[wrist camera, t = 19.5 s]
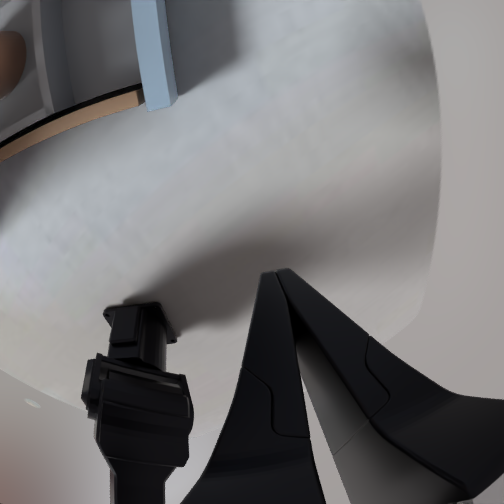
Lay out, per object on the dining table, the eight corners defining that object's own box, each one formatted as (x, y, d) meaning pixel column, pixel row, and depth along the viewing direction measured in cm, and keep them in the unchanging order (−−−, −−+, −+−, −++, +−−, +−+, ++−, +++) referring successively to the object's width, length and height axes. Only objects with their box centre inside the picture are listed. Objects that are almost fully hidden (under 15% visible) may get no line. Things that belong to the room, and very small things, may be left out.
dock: (154, 96, 15) (138, 105, 11) (-23, 172, 14) (-56, 200, 10) (137, -68, 7) (121, -97, 3) (-46, 40, 5) (-81, 47, 1)
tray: (178, 98, 15) (170, 106, 12) (-17, 174, 14) (-47, 199, 10) (159, -78, 6) (150, -107, 3) (-41, 29, 5) (-73, 34, 1)
